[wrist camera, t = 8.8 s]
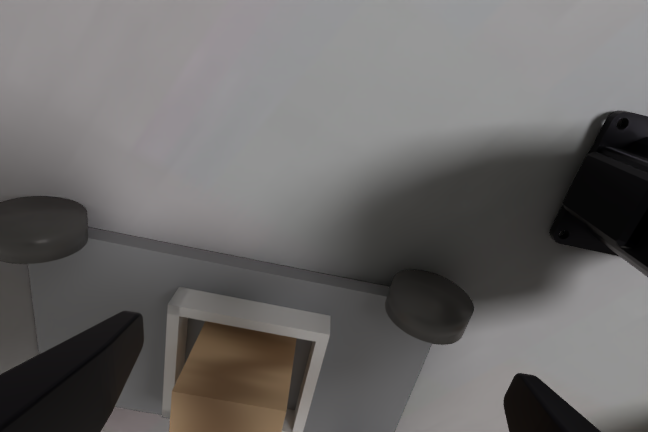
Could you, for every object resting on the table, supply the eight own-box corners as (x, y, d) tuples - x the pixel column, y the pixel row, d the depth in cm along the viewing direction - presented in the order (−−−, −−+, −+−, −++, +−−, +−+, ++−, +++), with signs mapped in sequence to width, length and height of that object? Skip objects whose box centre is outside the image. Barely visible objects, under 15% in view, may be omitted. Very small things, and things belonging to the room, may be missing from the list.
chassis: (459, 278, 21) (486, 328, 17) (385, 453, 27) (392, 518, 23) (24, 190, 19) (-49, 224, 16) (48, 395, 25) (0, 454, 22)
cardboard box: (297, 333, 21) (286, 411, 17) (282, 396, 23) (269, 481, 19) (207, 316, 21) (171, 391, 16) (201, 381, 23) (167, 464, 18)
